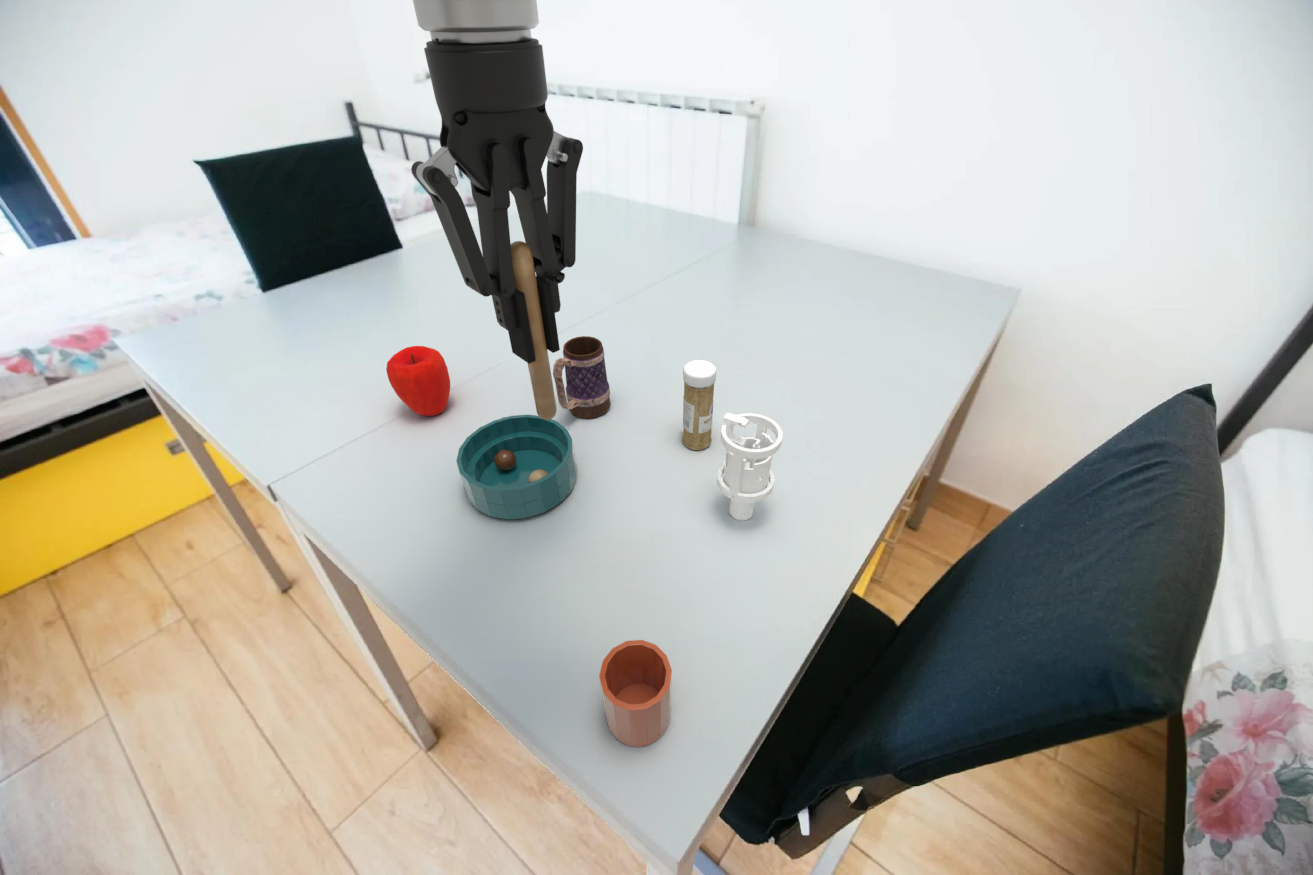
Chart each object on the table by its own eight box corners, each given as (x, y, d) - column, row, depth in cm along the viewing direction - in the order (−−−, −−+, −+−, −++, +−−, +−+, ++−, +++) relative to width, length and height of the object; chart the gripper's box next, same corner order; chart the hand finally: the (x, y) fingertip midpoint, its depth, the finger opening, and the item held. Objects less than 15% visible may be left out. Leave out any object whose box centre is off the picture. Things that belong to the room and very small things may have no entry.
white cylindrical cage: (729, 485, 75) (739, 398, 66) (776, 505, 72) (793, 418, 63) (704, 517, 71) (711, 429, 61) (753, 540, 68) (768, 452, 58)
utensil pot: (636, 763, 49) (632, 726, 44) (593, 710, 52) (585, 670, 47) (684, 714, 52) (686, 675, 47) (640, 667, 56) (638, 626, 50)
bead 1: (501, 477, 77) (497, 470, 75) (493, 459, 78) (489, 452, 76) (521, 467, 78) (517, 460, 75) (512, 450, 79) (509, 443, 76)
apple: (399, 403, 91) (376, 347, 84) (451, 388, 94) (434, 333, 87) (408, 432, 85) (385, 375, 78) (464, 415, 88) (446, 358, 81)
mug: (587, 389, 93) (579, 327, 86) (619, 403, 90) (615, 340, 83) (546, 420, 87) (534, 356, 79) (579, 436, 84) (571, 371, 76)
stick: (547, 426, 54) (515, 248, 42) (534, 418, 55) (499, 242, 43) (561, 416, 55) (535, 241, 44) (548, 409, 56) (519, 235, 45)
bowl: (503, 541, 68) (494, 509, 65) (448, 479, 77) (436, 448, 73) (598, 482, 76) (594, 450, 72) (538, 432, 85) (532, 401, 81)
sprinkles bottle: (712, 451, 81) (718, 376, 72) (682, 451, 81) (684, 377, 72) (709, 431, 84) (714, 358, 76) (680, 432, 84) (682, 358, 76)
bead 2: (530, 495, 72) (531, 475, 71) (525, 486, 75) (526, 466, 74) (552, 494, 74) (554, 473, 73) (546, 485, 76) (547, 465, 75)
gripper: (393, 47, 29) (485, 402, 44) (608, 32, 37) (623, 337, 52) (341, 39, 33) (441, 366, 48) (545, 27, 41) (576, 311, 56)
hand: (536, 350), depth 50 cm, fingers closed on stick, 2 cm apart
